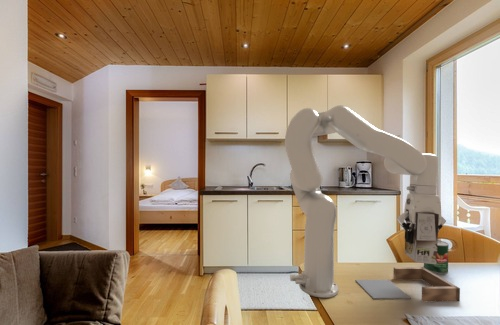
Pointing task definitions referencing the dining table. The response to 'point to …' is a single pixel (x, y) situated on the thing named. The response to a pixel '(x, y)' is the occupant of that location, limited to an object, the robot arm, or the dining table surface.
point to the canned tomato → (440, 259)
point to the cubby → (440, 289)
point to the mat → (382, 289)
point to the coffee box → (424, 239)
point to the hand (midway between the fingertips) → (420, 242)
